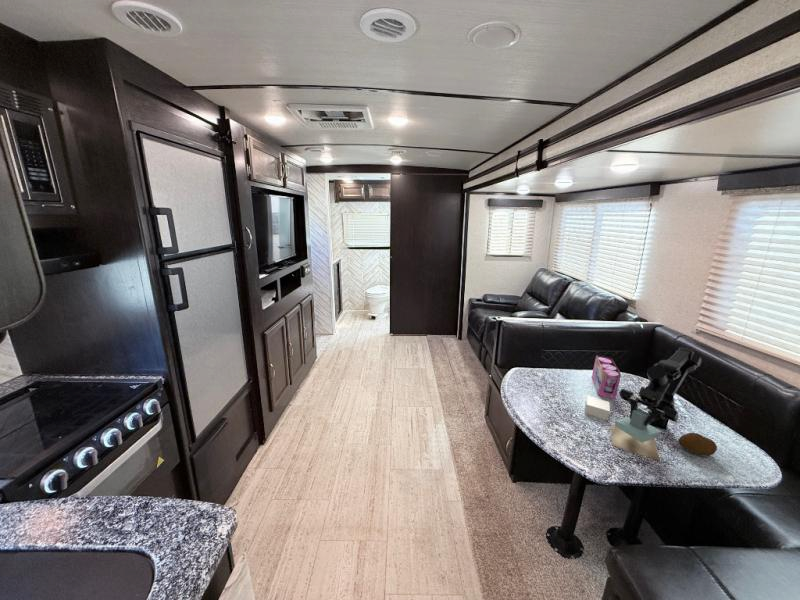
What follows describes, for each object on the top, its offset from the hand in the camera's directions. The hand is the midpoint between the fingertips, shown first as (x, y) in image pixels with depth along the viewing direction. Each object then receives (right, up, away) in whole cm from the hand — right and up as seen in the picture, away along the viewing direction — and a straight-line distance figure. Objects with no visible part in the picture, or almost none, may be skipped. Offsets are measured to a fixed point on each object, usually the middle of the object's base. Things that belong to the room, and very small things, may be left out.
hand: (637, 422), depth 123 cm
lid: (+1, -4, +2) cm, 5 cm away
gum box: (+16, +1, +46) cm, 49 cm away
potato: (+21, -12, -1) cm, 24 cm away
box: (-2, -4, +23) cm, 23 cm away
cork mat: (+1, -9, +3) cm, 10 cm away
